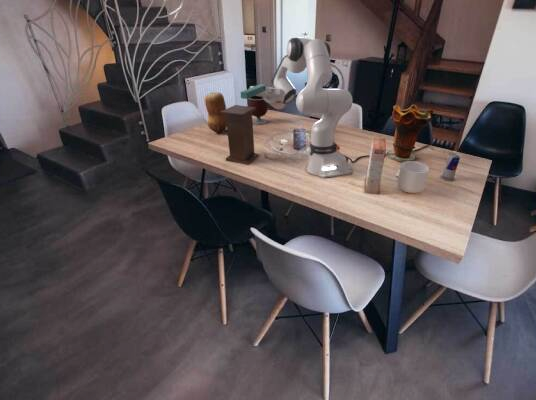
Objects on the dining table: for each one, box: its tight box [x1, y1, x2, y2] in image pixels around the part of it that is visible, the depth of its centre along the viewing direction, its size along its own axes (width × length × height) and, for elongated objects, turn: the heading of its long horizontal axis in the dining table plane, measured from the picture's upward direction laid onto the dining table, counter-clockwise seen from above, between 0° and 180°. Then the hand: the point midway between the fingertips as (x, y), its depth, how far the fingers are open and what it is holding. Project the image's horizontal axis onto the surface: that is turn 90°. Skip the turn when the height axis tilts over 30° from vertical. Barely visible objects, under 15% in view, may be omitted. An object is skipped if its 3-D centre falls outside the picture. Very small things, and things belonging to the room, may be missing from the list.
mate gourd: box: [247, 96, 269, 126], centre depth 216 cm, size 16×14×20 cm
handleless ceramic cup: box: [396, 160, 430, 194], centre depth 137 cm, size 12×12×11 cm
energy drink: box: [441, 152, 461, 181], centre depth 148 cm, size 5×5×12 cm
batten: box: [240, 83, 267, 100], centre depth 162 cm, size 22×4×3 cm, turn 160°
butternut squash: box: [204, 91, 227, 134], centre depth 193 cm, size 14×13×25 cm
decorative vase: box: [386, 104, 434, 162], centre depth 166 cm, size 21×23×28 cm
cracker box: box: [365, 137, 387, 194], centre depth 136 cm, size 14×6×21 cm, turn 168°
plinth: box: [220, 104, 260, 165], centre depth 158 cm, size 14×13×26 cm
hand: (261, 87), depth 169 cm, fingers closed on batten, 3 cm apart
